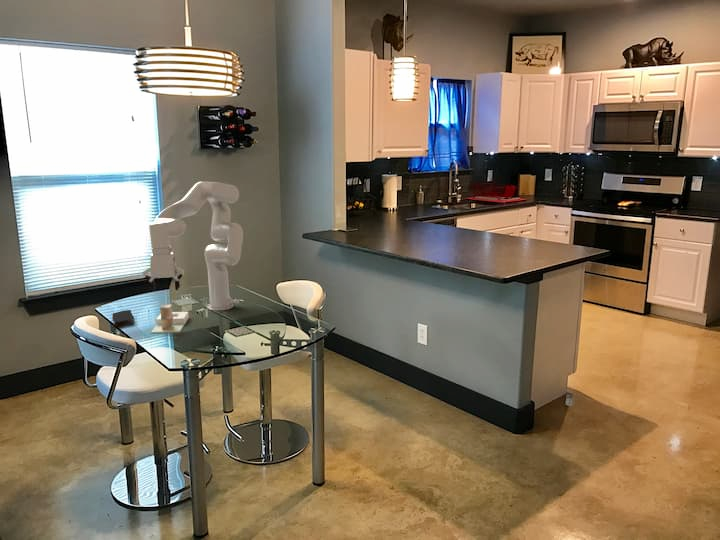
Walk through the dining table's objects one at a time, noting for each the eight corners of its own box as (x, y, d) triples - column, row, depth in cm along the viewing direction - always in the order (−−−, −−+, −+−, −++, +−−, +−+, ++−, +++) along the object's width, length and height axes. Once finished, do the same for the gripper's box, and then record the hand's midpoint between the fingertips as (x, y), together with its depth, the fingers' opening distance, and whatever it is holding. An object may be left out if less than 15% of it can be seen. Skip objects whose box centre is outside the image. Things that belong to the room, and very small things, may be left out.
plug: (173, 326, 252) (171, 304, 250) (171, 329, 248) (169, 307, 246) (164, 326, 252) (162, 304, 249) (162, 329, 248) (160, 307, 245)
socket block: (188, 318, 266) (188, 311, 265) (184, 325, 256) (183, 318, 255) (162, 319, 264) (161, 312, 264) (156, 326, 255) (156, 319, 254)
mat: (184, 326, 255) (183, 324, 255) (179, 333, 246) (179, 331, 246) (156, 327, 254) (156, 325, 254) (151, 334, 245) (150, 332, 245)
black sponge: (135, 326, 256) (134, 318, 256) (115, 329, 253) (114, 321, 252) (131, 316, 271) (130, 309, 270) (112, 319, 267) (111, 311, 266)
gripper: (184, 248, 247) (187, 286, 251) (142, 249, 245) (147, 288, 249) (180, 252, 239) (184, 291, 244) (137, 253, 238) (142, 293, 242)
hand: (165, 289), depth 246 cm, fingers open, 9 cm apart
